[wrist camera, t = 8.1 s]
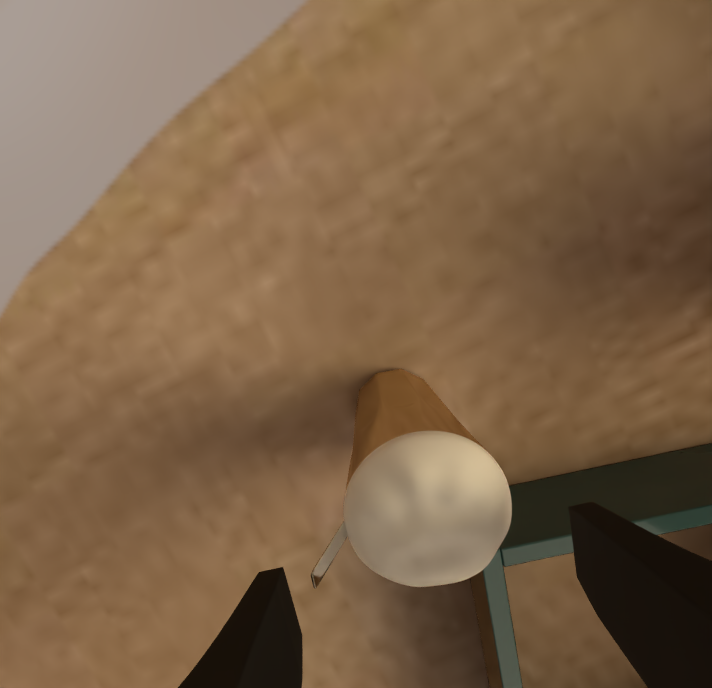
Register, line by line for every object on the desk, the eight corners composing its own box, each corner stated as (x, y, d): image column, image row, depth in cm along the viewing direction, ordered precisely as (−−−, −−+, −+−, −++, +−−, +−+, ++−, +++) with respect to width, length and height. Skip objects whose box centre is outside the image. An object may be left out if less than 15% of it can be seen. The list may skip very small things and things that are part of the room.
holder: (497, 734, 26) (526, 824, 23) (454, 496, 23) (479, 553, 19) (765, 680, 26) (840, 760, 22) (760, 432, 23) (847, 477, 19)
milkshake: (310, 366, 21) (292, 494, 12) (441, 343, 21) (530, 452, 12) (331, 467, 23) (329, 659, 13) (454, 445, 23) (546, 621, 13)
